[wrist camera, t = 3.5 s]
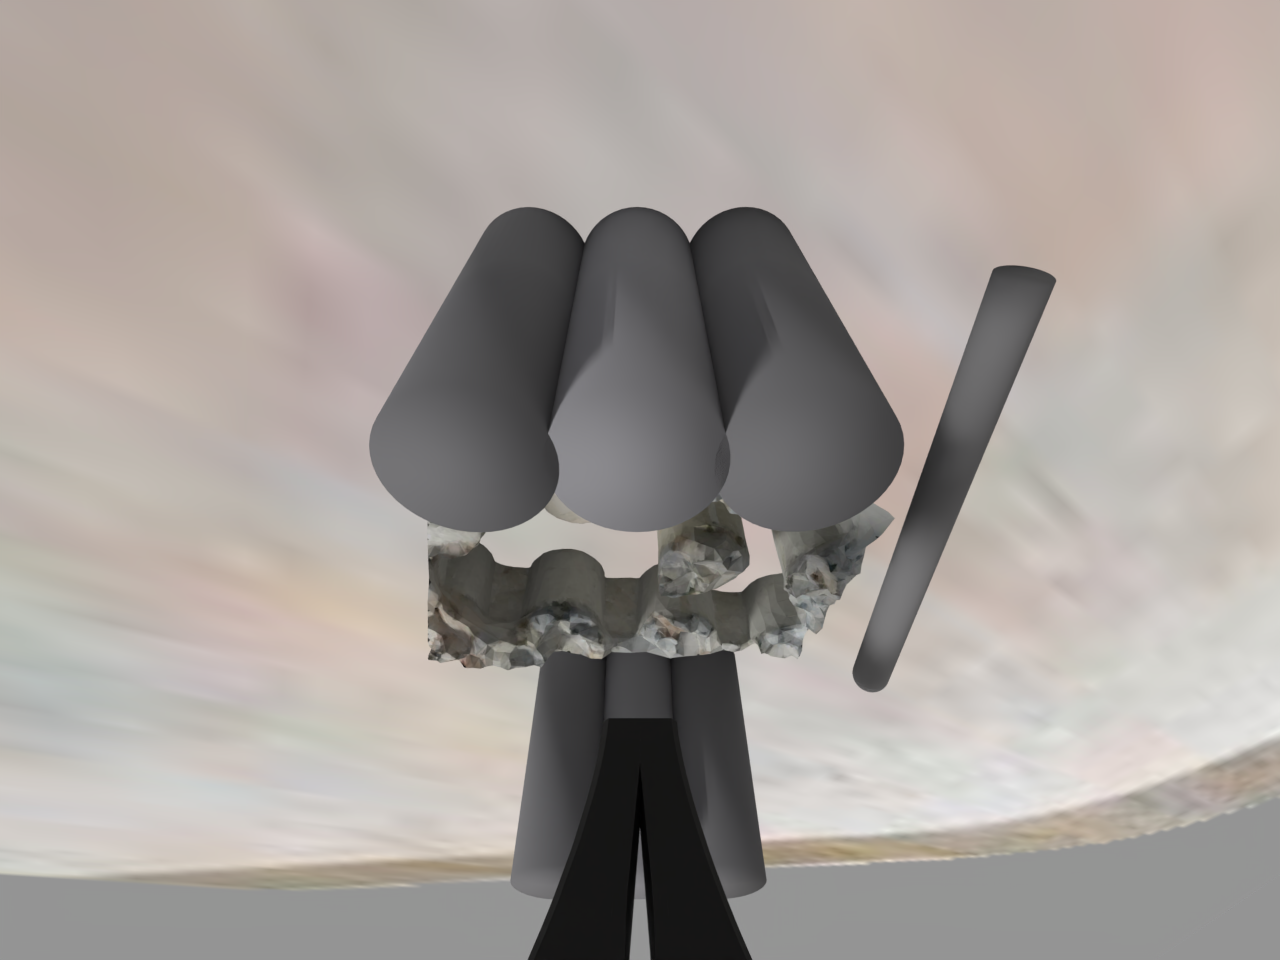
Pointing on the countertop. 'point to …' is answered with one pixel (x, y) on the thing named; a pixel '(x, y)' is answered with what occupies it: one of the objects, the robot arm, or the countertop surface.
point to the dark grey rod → (953, 459)
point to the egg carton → (639, 593)
